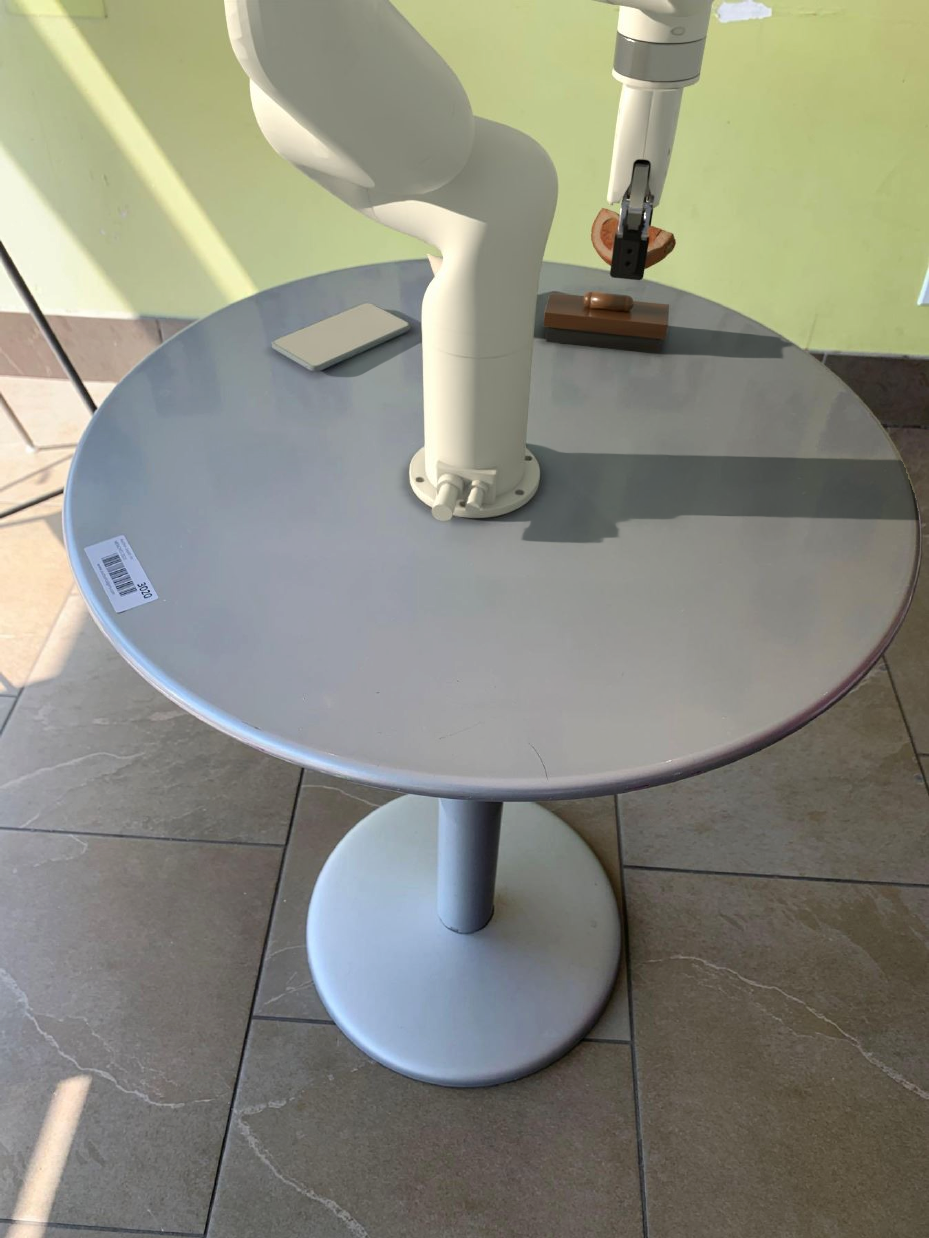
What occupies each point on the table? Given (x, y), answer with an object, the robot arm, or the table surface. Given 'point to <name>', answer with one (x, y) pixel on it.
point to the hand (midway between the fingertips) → (629, 258)
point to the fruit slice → (608, 227)
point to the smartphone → (340, 336)
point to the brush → (606, 321)
